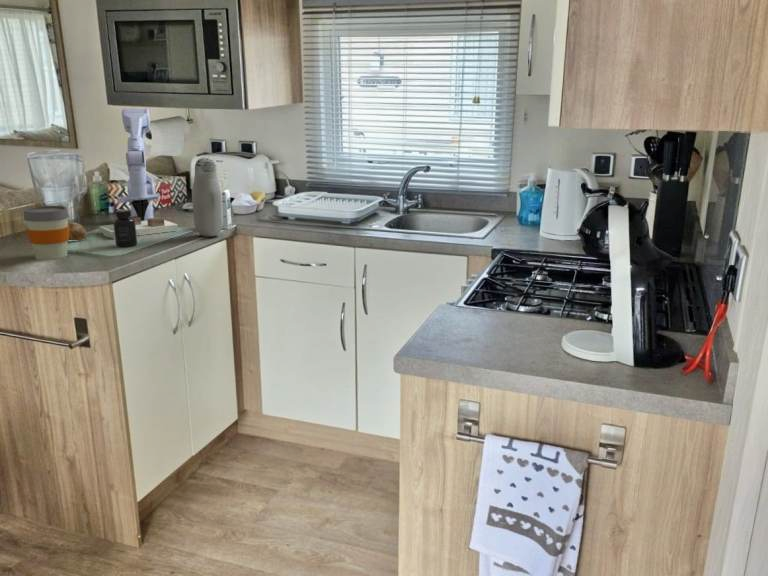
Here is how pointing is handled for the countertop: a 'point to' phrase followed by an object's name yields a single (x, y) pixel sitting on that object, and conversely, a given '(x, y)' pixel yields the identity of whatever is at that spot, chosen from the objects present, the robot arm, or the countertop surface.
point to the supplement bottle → (125, 229)
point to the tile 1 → (137, 220)
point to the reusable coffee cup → (48, 231)
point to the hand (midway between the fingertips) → (141, 220)
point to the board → (155, 228)
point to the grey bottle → (207, 198)
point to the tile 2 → (155, 222)
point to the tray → (110, 230)
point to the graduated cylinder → (226, 209)
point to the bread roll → (76, 231)
